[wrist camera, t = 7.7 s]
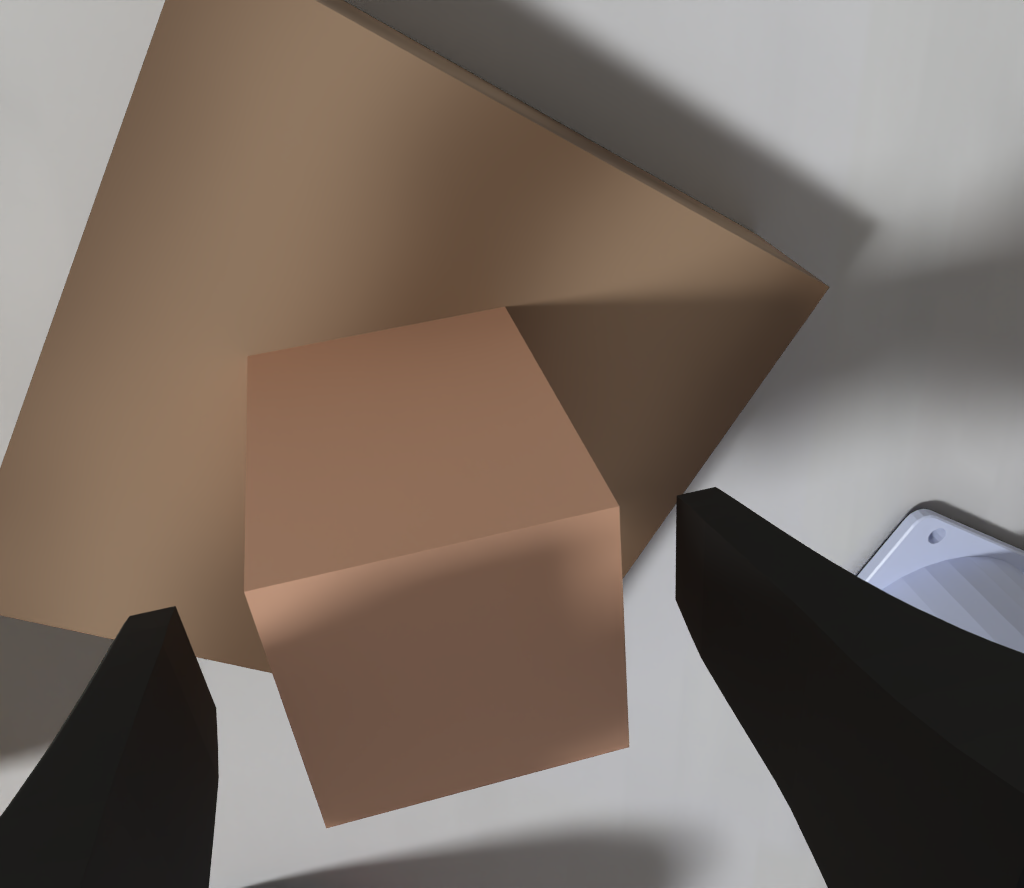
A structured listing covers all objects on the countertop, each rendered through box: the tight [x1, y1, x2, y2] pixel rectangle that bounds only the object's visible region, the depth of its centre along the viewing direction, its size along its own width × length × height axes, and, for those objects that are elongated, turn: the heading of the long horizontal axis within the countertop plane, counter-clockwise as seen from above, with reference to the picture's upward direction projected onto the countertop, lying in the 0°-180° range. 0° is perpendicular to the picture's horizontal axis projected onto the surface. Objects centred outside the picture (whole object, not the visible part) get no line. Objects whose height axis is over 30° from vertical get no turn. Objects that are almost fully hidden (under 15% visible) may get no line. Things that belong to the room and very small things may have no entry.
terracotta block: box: [244, 307, 629, 828], centre depth 14 cm, size 4×4×6 cm
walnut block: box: [0, 0, 829, 673], centre depth 18 cm, size 12×12×3 cm
